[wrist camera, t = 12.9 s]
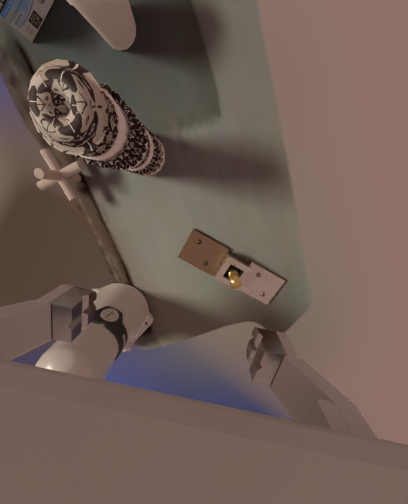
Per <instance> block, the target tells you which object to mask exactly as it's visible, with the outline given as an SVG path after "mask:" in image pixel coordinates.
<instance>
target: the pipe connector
mask: <svg viewBox="0 0 408 504" xmlns="http://www.w3.org/2000/svg"><path fill="white" fill-rule="evenodd" d="M40 152H41V154H42V156H43V157H44V159H45V161H46V162H47V164H48V166H49V167H50V169H51V170H48V169H42V168H36V169H35V170H34V174H35V176H36V177H37V178H39V179H42V180H40V181H39V182H37V186H38V187H39V188H40V189H41V190H46V189H48V188H50V187H52V186H54V185H56V184H57V183H59V184H60V186H61V187H62V189H63V191H64V192H65V194H66V196H67V197H68V199H69V201H73V200H76V199H78V198H79V197H78V195H77V194H76V192H75V190H74V189H73V187H72V185H71V184H70V182H69V181H71V182H80V181H81V176H80V175H79V174H77V173H78V172H80V171H82V170H84V166H83V164H82V163H81V162H80V161H76V162H74V163H72V164H70V165H68V166H66V167H65V168H63V169H62V168H61V167H60V165H59V163H58V161H57V160H56V158H55V156H54V155H53V153H52V151H51V150H50V149H47V148H46V149H42V150H41V151H40Z"/></svg>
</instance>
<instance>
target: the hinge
mask: <svg viewBox="0 0 408 504" xmlns="http://www.w3.org/2000/svg"><path fill="white" fill-rule="evenodd" d="M229 250H230V249H229V248H227V247H226V246H224V245H222V244H220V243H219V242H217V241H215V240H213V239H211V238H210V237H208V236H206V235H204V234H203V233H201V232H199V231H197V230H195V229H193V231H192V233H191V234H190V236H189V238H188V240H187V242H186V243H185V245H184V247H183V249H182V251H181V253H180V254H179V256H178V257H179V258H181V259H183V260H184V261H186V262H188V263H190V264H192V265H194V266H196V267H197V268H199V269H201V270H203V271H205V272H207V273H209V274H210V275H212V276H213V275H214V273H215V279H217V280H219V281H220V282H222V283H224V284H226V285H228V286H230V282H229V277H228V273H227V272H226V271H227V269H228V268H229V266H230V265H233V266H235V267H237V268H239V270H238V274H239V277H240V280H241V287H240V288H238V289H235V290H237V291H238V290H240V291H242V292H244V293H246V294H248V295H250V296H251V297H253V298H255V299H257V300H259V301H261V302H263V303H264V304H266V305H267V304H268V303H269V301H270V300H271V299H272V298H273V296H274V295H275V294H276V292H277V291H278V290H279V289H280V287H281V286H282V285H283V283H284V282H285V280H284V279H283V278H281V277H279V276H277V275H275V274H274V273H272V272H270V271H268V270H267V269H265V268H263V267H261V266H259V265H258V264H256V263H254V262H252V261H251V262H250V263H248V262H246V261H244V260H242V259H241V258H239V257H237V256H235V255H233V254H232V253H230V252H228V251H229ZM230 287H231V286H230Z"/></svg>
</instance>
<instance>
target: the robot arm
mask: <svg viewBox="0 0 408 504" xmlns="http://www.w3.org/2000/svg"><path fill="white" fill-rule="evenodd" d="M153 321H154V318H153V316H152V314H151V313H150V312H149V308H148V303H147V301H146V299H145V297H144V296H143V294H142V293H141V292H140V291H139V290H137V289H136V288H134V287H133V286H130V285H128V284H123V283H114V284H110V285H108V286H106V287H103V288H95V289H92V290H88V289H84V288H80V287H75V286H71V285H67V284H63V285H61V286H60V287H58V288H56V289H54V290H53V291H51V292H49V293H48V294H46V295H44V296H43V297H41V298H39V299H38V300H36V301H34V300H31V301H26V302H21V303H17V304H13V305H8V306H4V307H0V504H408V445H405V444H401V443H396V442H391V441H386V440H382V439H378V438H377V437H376V435H375V434H374V432H373V431H372V429H371V428H370V426H369V425H368V423H367V422H366V420H365V419H364V417H363V416H362V414H361V413H360V411H359V410H358V408H357V407H356V406H355V405H354V404H353V403H352V402H351V401H349V400H348V399H347V398H346V397H345V396H344V395H343V394H341V393H340V392H339V391H338V390H337V389H336V388H334V387H333V386H332V385H331V384H330V383H329V382H328V381H326V380H325V379H324V378H323V377H322V376H321V375H319V374H318V373H317V372H316V371H315V370H314V369H313V368H311V367H310V366H309V365H308V364H307V363H306V362H304V361H303V360H302V359H299V358H298V356H297V354H296V352H295V350H294V348H293V347H292V345H291V343H290V341H289V339H288V337H287V335H286V334H285V333H282V332H277V331H271V330H266V329H261V328H256V327H255V328H254V329H253V332H252V335H253V338H252V339H251V340H250V341H249V343H248V347H247V359H248V362H249V363H250V364H251V367H250V373H251V378H252V382H255V383H259V384H263V385H267V386H271V387H270V388H271V389H272V391H273V392H274V393H275V395H276V396H277V398H278V399H279V400H280V402H281V403H282V405H283V406H284V407H285V409H286V410H287V411H288V413H289V414H290V416H291V417H292V419H293V420H294V421H292V420H287V419H282V418H278V417H273V416H268V415H263V414H258V413H254V412H249V411H244V410H239V409H235V408H230V407H225V406H220V405H216V404H211V403H206V402H202V401H197V400H192V399H188V398H183V397H178V396H174V395H169V394H164V393H159V392H155V391H150V390H145V389H140V388H135V387H130V386H126V385H121V384H116V383H112V382H107V381H103V379H104V377H105V376H106V374H107V372H108V370H109V368H110V367H111V365H112V363H113V361H115V360H116V359H117V358H118V356H119V355H120V354H121V352H124V351H130V350H131V348H132V347H133V345H134V343H135V341H136V340H137V339H138V338H139V337H140V336H141V335H142V334H143V332H144V331H145V330H146V329H147V328H148V327H149V326H150V325H151V324H152V322H153ZM146 322H147V323H146ZM51 339H53V340H58V341H57V342H56V343H55V344H54V345H53V346H51V347H50V348H49V349H48V350H47V351H46V352H45V353H44V354H43V355H42V356H41V357H40V359H39V360H38V362H37V363H36V365H35V366H31V365H26V364H22V363H17V362H12V361H10V360H12V359H14V358H16V357H19V356H20V355H23V354H25V353H27V352H29V351H31V350H33V349H35V348H37V347H39V346H41V345H43V344H45V343H47V342H49V341H51Z"/></svg>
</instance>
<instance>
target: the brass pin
mask: <svg viewBox="0 0 408 504" xmlns="http://www.w3.org/2000/svg"><path fill="white" fill-rule="evenodd" d="M227 272H228V277H229V282H230V286H231V287H232V288H233V289H238V288H240V287H241V280H240V277H239V274H238V271H237V267H235V266H233V265H230V266H229V268H228V269H227Z"/></svg>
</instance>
